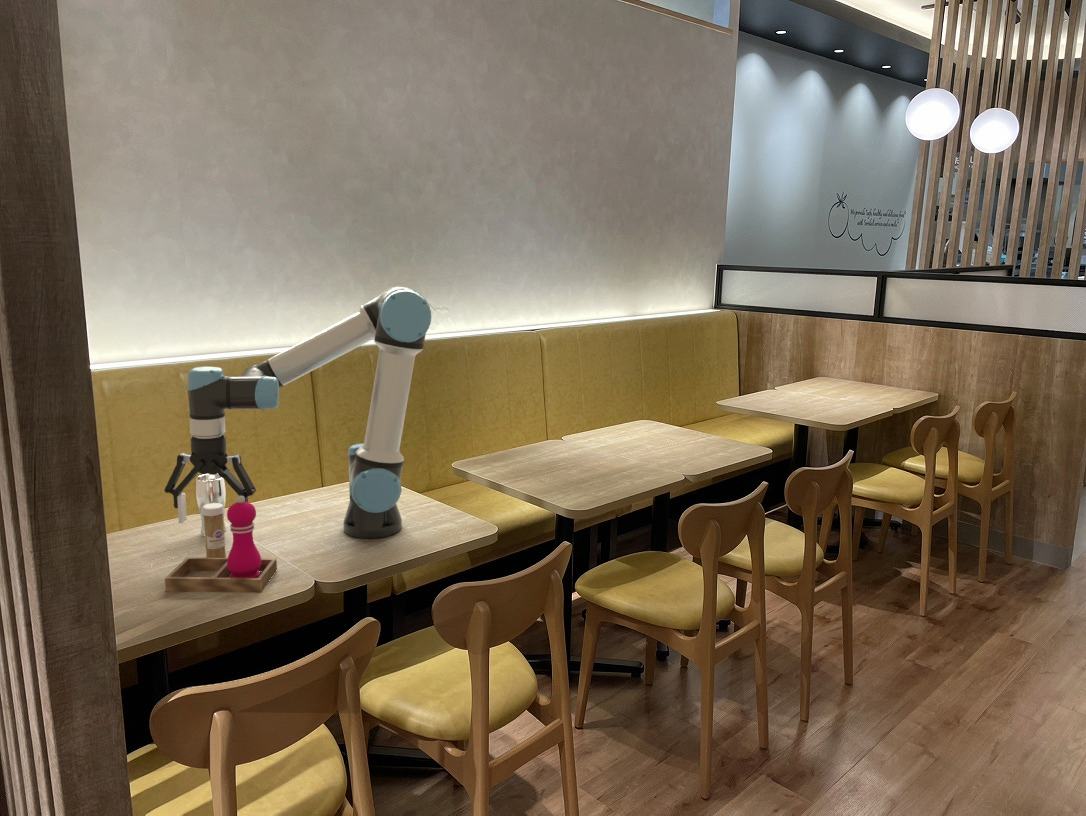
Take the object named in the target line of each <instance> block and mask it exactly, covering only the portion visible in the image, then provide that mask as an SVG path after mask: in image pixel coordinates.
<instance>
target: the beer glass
mask: <svg viewBox="0 0 1086 816" xmlns="http://www.w3.org/2000/svg"><path fill="white" fill-rule="evenodd" d="M225 483H226V481H225V480H224V479H223V477H220V476H219V474H215V475H211V474H201V475H198V476H197V477H196V478H195V494H196V497H195V498H196V502H197V507H198V511H199V513H200V518H201V526H200V527H201V528H200V535H201V534H202V535H204V516H203V506H204V505H206V504H210V503H220V504H222V505H223V508H224V510H225V507H226V497H227V494H226V493H227V492H226V490H227V489H226V484H225ZM224 516H225V511H224V512H223V522H224V532H226V533H227V528H226V524H225V519H224V518H225V517H224ZM202 535H201V536H202Z"/></svg>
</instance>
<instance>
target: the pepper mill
mask: <svg viewBox="0 0 1086 816" xmlns="http://www.w3.org/2000/svg"><path fill="white" fill-rule="evenodd" d="M235 500H236V502H235V503H232V504H230V506H229V507H228V509H227V511H226V519H227V520H228V522H229V523H231V524H230V525H229V527H230V530H229V531H230V532H231V533H232V545H231V547H230V551H229V553H228V555H227V558H228V559H227V568H228V570H229V571H230V572H232V573H231V575H230V576H229V578H258V577H259V576H260V575H261V572H259V571H258V569H259V568H260V566H261V563H262V561H261V558H262V556H261V553H260V552H259V550H258V547H256V544H255V541H254V537H253V532H254V530H255V522H254V520H255V519H256V516H257V511H256V507H255V505H253V504H252V503H251V502H249V501H248V502H244V501H245V498H244V496H239V495H238V496H237V497H236V499H235Z"/></svg>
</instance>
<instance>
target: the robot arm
mask: <svg viewBox="0 0 1086 816" xmlns="http://www.w3.org/2000/svg"><path fill="white" fill-rule="evenodd" d="M431 325H432V311H431V307H430V305H429V302H428V300H427V299H426V298H425V297H424V296H423V295H422V294H421V293H419V292H418V291H416V290H414V289H413V288H410V287H409V286H408V287H407V286H404V285H403V286H402V285H398V286H393V287H390V288H388V289H386V290H384V291H383V292H382V293H381V294H379V295H378V296H376V297H375V298H373V299H372V300H369V301H368V302H366V303H364V304H362V305H360V309H359V311H358V312H356V313H354V314H352V315H350V316H348V317H346V318H344V319H343V320H341V321H339V322H336V323H334V324H333V325H331V326H329V327H327V328H325V329H323V330H321V331H320V332H317V333H316V334H313V335H312V336H310V337H308V338H306V339H304V340H302V341H300V342H299V343H297V344H295V345H292V346H291V347H289V348H287V349H285V350H284V351H281V352H279V353H278V354H276V355H274V356H271V357H269V358H267V360H264V361H262V362H260V363H259V364H254V365H251V366H249V367H248V368H246V369H245V370H244V371H243V373H241V376H227V375H226V376H225V374H224V370H223V369H222V368H221V367H218V366H198V367H197V366H196V367H194V368H192V369H190V370H189V371H188V373H187V374H188V375H187V376H188V377H187V386H188V387H187V395H188V397H187V399H188V409H189V412H188V413H189V434H190V435H191V437H190V451H191V452H190V453H191V454H187V453H186V452H181V453H180V454H179V455H177V457H176V465H175V467H174V469H173V470H172V473H171V474H170V477H169V480H168V482H167V483H166V486H165V487H164V489H163V490H164V492H165V493H166V494H171V495H172V496H173V507H174V509H177V514H178V518H177V519H178V524H183V523H184V522H185V521H187V498H186V492H183V491H184V490H185V488H187V486H188V485H189V484H190V482H192V481H193V479H194V478H195V477H196V476H197V475H198V473H199V474H201V475H204V474H211V475H215V474H219V476H220V477H223V479H224V482H225V483H227V484H228V485H229V486H230V487H231V489H232V491H234V492H235V493H236V494H237V495H238V496H244V498H245V501H244V502H248V503H249V497H251V496H253V495H254V494H255V493H256V491H257V489H256V487H255V485H254V483H253V482H252V480H251V477H250V475H249V473H248V472H247V471H246V469H245V467H244V465H243V464H242V456H241V455H240V454H235V455H232V456H231V455H228V454H227V436H226V435H225V433H226V413H225V410H268V409H276V408H278V407H279V404H280V388H281V389H282V388H283V387H284V386H287V385H288V384H290V383H292V382H294V381H296V380H298V379H300V378H301V377H303V376H305V375H307V374H309V373H311V372H313V371H315V370H316V369H319V368H320V367H322V366H324V365H327V364H328V363H330V362H332V361H334V360H336V359H338V358H340V357H341V356H343V355H345V354H347V353H350V352H351V351H354V349H357V348H358V347H360V346H362V345H363V346H364V344H366V343H368V342H370V341H373V340H374V341H373V342H374V343H375V344H376V346H377V347H378V349H379V350H378V355H377V363H376V367H375V375H374V380H373V386H372V387H373V388H372V393H371V399H370V405H369V411H368V417H367V423H366V427H365V428H366V429H365V436H364V441H363V443H356V444H353V445H351V446H349V447H348V454H347V458H348V480H349V481H348V482H349V483H348V486H349V487H348V488H349V491H348V492H349V503H348V506H347V509H346V513H345V516H344V519H343V523H342V524H343V532H344V533H345V534H346V535H348V536H350V537H353V538H360V539H377V538H378V539H379V538H384V537H390V536H393V535H395V534H397V533H399V532H400V531H401V530H400V529H402V527H403V520H402V517H401V514H400V510H399V507H398V505H397V503H398V501H399V500H400V499H401V498H400V497H401V494H402V483H401V478H402V472H403V466H404V461H405V457H404V456H403V454H402V453H401V452H400V448H401V441H402V435H403V429H404V426H405V425H404V424H405V419H406V418H405V417H406V412H407V407H408V401H409V395H410V389H411V385H412V384H411V383H412V377H413V372H414V371H413V370H414V366H415V360H416V355H418V354H420V353H421V352H422V351H423V350H424V345H425V339H426V334H427V333H428V330H429V329H430V326H431ZM189 461H190V463H191V464H192V466H193V468H192V469H191V470H190V471H189V473H188V474H187V475H186V476H185V477H184V478H183V480H182V481H181V482H180V483H179V484H178V485H177V483H178V481H179V478H180V477H181V474H182V472H183V470H184V469H185V467H186V464H188V463H189ZM228 463H229V464H230V465H231V466H232V468H233V470H234V472H235V473H236V476H235V475H234V474H233V472H231V470H230V468H229V467H228V466H227V464H228ZM237 477H238V479H237ZM176 485H177V486H176ZM399 530H400V531H399ZM398 531H399V532H398ZM396 532H397V533H396ZM394 533H395V534H394ZM392 534H393V535H392Z"/></svg>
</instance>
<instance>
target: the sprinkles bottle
mask: <svg viewBox="0 0 1086 816" xmlns="http://www.w3.org/2000/svg"><path fill="white" fill-rule="evenodd" d="M223 512H224V513H225V509H224V508H223V505H222V504H220V503H210V504H206V505H204V506H203V516H204V535H205V536H204V545H205V546H204V547H205V554H206V555H205V556H206V557H205V558H227V555H226V533H225V532H224V524H225V521H224V522H223Z"/></svg>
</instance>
